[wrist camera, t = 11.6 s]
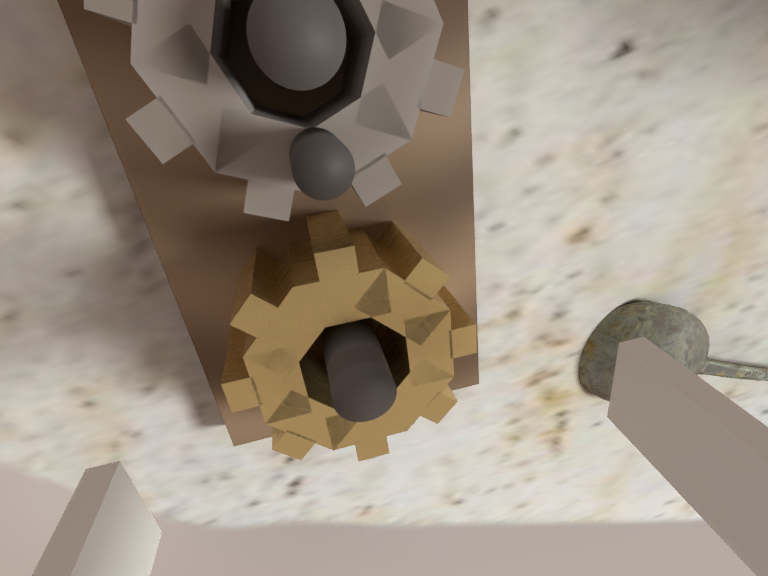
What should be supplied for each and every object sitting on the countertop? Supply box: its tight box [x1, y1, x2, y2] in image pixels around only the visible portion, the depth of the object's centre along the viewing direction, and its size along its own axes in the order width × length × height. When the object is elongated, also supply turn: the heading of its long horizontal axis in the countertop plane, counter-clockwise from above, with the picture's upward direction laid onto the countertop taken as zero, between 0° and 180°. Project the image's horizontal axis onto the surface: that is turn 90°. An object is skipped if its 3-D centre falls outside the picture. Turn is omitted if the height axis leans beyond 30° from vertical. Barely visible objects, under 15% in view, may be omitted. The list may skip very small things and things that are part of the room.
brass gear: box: [221, 210, 477, 461], centre depth 16 cm, size 9×9×4 cm
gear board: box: [58, 0, 479, 446], centre depth 14 cm, size 21×12×8 cm, turn 7°
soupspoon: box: [579, 301, 768, 401], centre depth 27 cm, size 22×3×7 cm
